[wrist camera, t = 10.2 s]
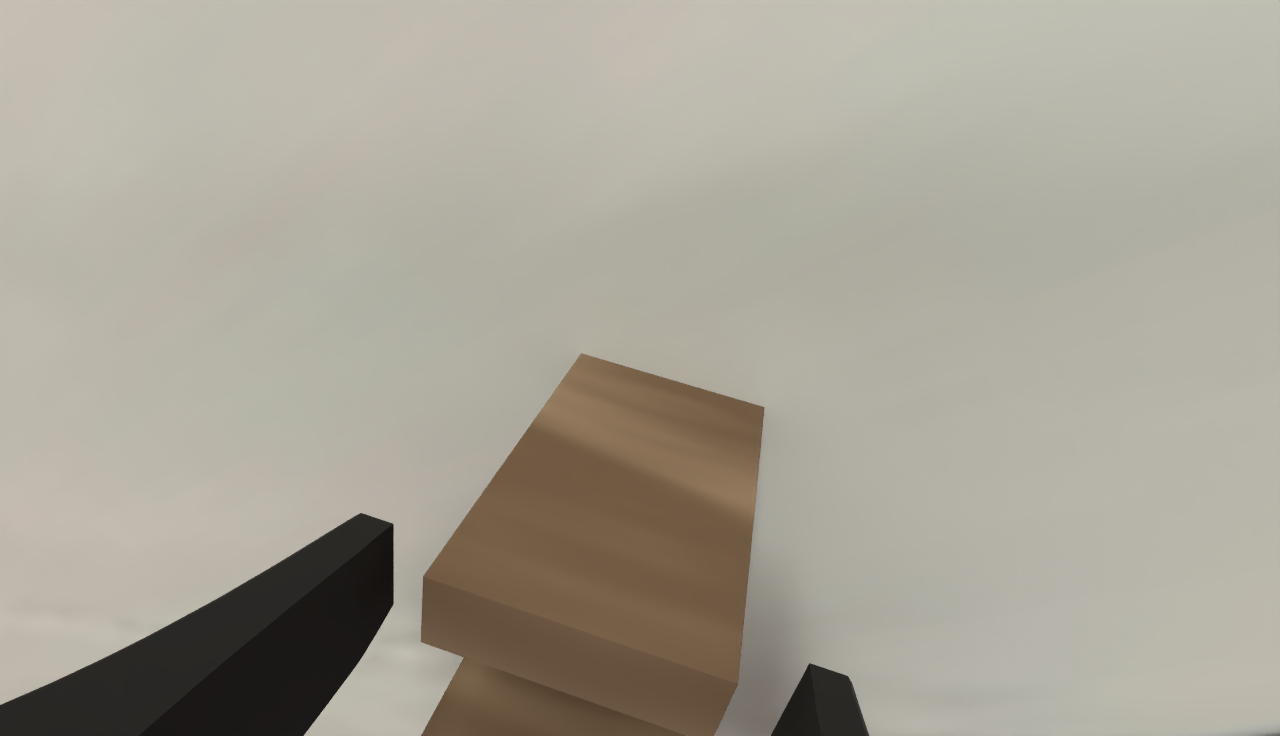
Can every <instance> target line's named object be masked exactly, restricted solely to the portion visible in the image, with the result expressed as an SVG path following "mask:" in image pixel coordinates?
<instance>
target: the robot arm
mask: <svg viewBox="0 0 1280 736" xmlns="http://www.w3.org/2000/svg"><path fill="white" fill-rule="evenodd" d="M392 606H393V524H392V523H389V522H386V521H383V520H380V519H377V518H374V517H371V516H368V515H365V514H362V513H360V514H358V515H356V516H355V517H353V518H351V519H350V520H348V521H346V522H345V523H343V524H341V525H340V526H338V527H336V528H335V529H333V530H331V531H330V532H328V533H327V534H325V535H323V536H322V537H320V538H319V539H317V540H315V541H314V542H312V543H310V544H309V545H307V546H306V547H304V548H302V549H301V550H299V551H297V552H296V553H294V554H292V555H291V556H289V557H287V558H286V559H284V560H282V561H281V562H279V563H278V564H276V565H274V566H273V567H271V568H269V569H267V570H266V571H264V572H262V573H261V574H259V575H257V576H255V577H254V578H252V579H250V580H249V581H247V582H245V583H243V584H242V585H240V586H238V587H237V588H235V589H233V590H231V591H230V592H228V593H226V594H225V595H223V596H221V597H219V598H218V599H216V600H214V601H212V602H210V603H209V604H207V605H205V606H203V607H201V608H199V609H198V610H196V611H194V612H192V613H190V614H188V615H186V616H185V617H183V618H181V619H179V620H177V621H175V622H173V623H171V624H170V625H168V626H166V627H164V628H162V629H160V630H158V631H157V632H155V633H153V634H151V635H149V636H147V637H145V638H143V639H141V640H139V641H137V642H135V643H133V644H131V645H129V646H127V647H125V648H123V649H121V650H119V651H118V652H115V653H113V654H111V655H109V656H107V657H105V658H103V659H101V660H99V661H97V662H95V663H93V664H91V665H89V666H86V667H84V668H82V669H80V670H78V671H76V672H74V673H71V674H69V675H67V676H65V677H63V678H61V679H59V680H56V681H54V682H52V683H50V684H48V685H45V686H43V687H41V688H38V689H36V690H34V691H32V692H29V693H27V694H25V695H22V696H20V697H18V698H15V699H13V700H11V701H9V702H6V703H4V704H2V705H0V736H304V734H305V733H306V732H307V730H308V729H309V728H310V726H311V725H312V724H313V722H314V721H315V720H316V719H317V717H318V716H319V715H320V713H321V712H322V711H323V709H324V708H325V707H326V705H327V704H328V703H329V701H330V700H331V699H332V697H333V696H334V695H335V693H336V692H337V691H338V689H339V688H340V687H341V685H342V684H343V683H344V681H345V680H346V679H347V677H348V676H349V675H350V673H351V672H352V671H353V669H354V668H355V666H356V665H357V664H358V662H359V661H360V659H361V658H362V656H363V655H364V653H365V651H366V650H367V648H368V646H369V645H370V643H371V641H372V640H373V638H374V637H375V635H376V633H377V632H378V630H379V628H380V626H381V625H382V623H383V621H384V620H385V618H386V616H387V614H388V613H389V611H390V609H391V607H392ZM771 736H869V734H868V731H867V728H866V725H865V722H864V719H863V716H862V713H861V710H860V707H859V704H858V701H857V698H856V694H855V691H854V688H853V685H852V682H851V681H850V679H849V677H848V676H846V675H843V674H840V673H837V672H834V671H831V670H828V669H825V668H822V667H819V666H816V665H813V664H810V663H809V665H808V667H807V669H806V671H805V673H804V675H803V677H802V678H801V680H800V682H799V684H798V686H797V688H796V690H795V691H794V693H793V695H792V697H791V699H790V701H789V703H788V705H787V706H786V708H785V710H784V712H783V714H782V716H781V718H780V720H779V721H778V723H777V725H776V727H775V729H774V731H773V733H772V734H771Z"/></svg>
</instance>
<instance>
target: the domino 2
mask: <svg viewBox="0 0 1280 736" xmlns="http://www.w3.org/2000/svg"><path fill="white" fill-rule="evenodd" d="M421 736H686V735H683V734H680V733H677V732H675V731H672V730H669V729H666V728H663V727H660V726H658V725H655V724H652V723H649V722H646V721H643V720H641V719H638V718H635V717H632V716H629V715H626V714H624V713H621V712H618V711H615V710H612V709H609V708H607V707H604V706H601V705H598V704H595V703H592V702H590V701H587V700H584V699H581V698H578V697H575V696H573V695H570V694H567V693H564V692H561V691H559V690H556V689H553V688H550V687H547V686H544V685H542V684H539V683H536V682H533V681H530V680H527V679H525V678H522V677H519V676H516V675H513V674H510V673H508V672H505V671H502V670H499V669H496V668H493V667H491V666H488V665H485V664H482V663H479V662H476V661H474V660H471V659H468V658H465V657H464V659H463V660H462V662H461V664H460V666H459V668H458V669H457V671H456V673H455V675H454V677H453V679H452V680H451V682H450V684H449V686H448V688H447V690H446V691H445V693H444V695H443V697H442V699H441V700H440V702H439V704H438V706H437V708H436V710H435V711H434V713H433V715H432V717H431V719H430V720H429V722H428V724H427V726H426V728H425V730H424V731H423V733H422V735H421Z"/></svg>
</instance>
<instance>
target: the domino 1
mask: <svg viewBox="0 0 1280 736" xmlns="http://www.w3.org/2000/svg"><path fill="white" fill-rule="evenodd" d="M763 416H764V407H761V406H758V405H754V404H751V403H748V402H744V401H741V400H737V399H734V398H731V397H727V396H724V395H720V394H717V393H714V392H710V391H707V390H703V389H700V388H697V387H693V386H690V385H686V384H683V383H680V382H676V381H673V380H669V379H666V378H663V377H659V376H656V375H652V374H649V373H646V372H642V371H639V370H635V369H632V368H629V367H625V366H622V365H618V364H615V363H612V362H608V361H605V360H601V359H598V358H595V357H591V356H588V355H584V354H581V355H580V356H579V358H578V359H577V360H576V362H575V363H574V365H573V366H572V367H571V369H570V370H569V372H568V373H567V374H566V376H565V377H564V379H563V380H562V382H561V383H560V384H559V386H558V387H557V389H556V390H555V391H554V393H553V394H552V396H551V397H550V398H549V400H548V401H547V403H546V404H545V406H544V407H543V408H542V410H541V411H540V413H539V414H538V415H537V417H536V418H535V420H534V421H533V422H532V424H531V425H530V427H529V428H528V430H527V431H526V432H525V434H524V435H523V437H522V438H521V439H520V441H519V442H518V444H517V445H516V446H515V448H514V449H513V451H512V452H511V454H510V455H509V456H508V458H507V459H506V461H505V462H504V463H503V465H502V466H501V468H500V469H499V470H498V472H497V473H496V475H495V476H494V478H493V479H492V480H491V482H490V483H489V485H488V486H487V487H486V489H485V490H484V492H483V493H482V494H481V496H480V497H479V499H478V500H477V501H476V503H475V504H474V506H473V507H472V509H471V510H470V511H469V513H468V514H467V516H466V517H465V518H464V520H463V521H462V523H461V524H460V525H459V527H458V528H457V530H456V531H455V533H454V534H453V535H452V537H451V538H450V540H449V541H448V542H447V544H446V545H445V547H444V548H443V549H442V551H441V552H440V554H439V555H438V557H437V558H436V559H435V561H434V562H433V564H432V565H431V566H430V568H429V569H428V571H427V572H426V573H425V575H424V576H423V598H422V625H421V642H423V643H425V644H428V645H431V646H434V647H437V648H440V649H442V650H445V651H448V652H451V653H454V654H457V655H459V656H462V657H465V658H468V659H471V660H474V661H476V662H479V663H482V664H485V665H488V666H491V667H493V668H496V669H499V670H502V671H505V672H508V673H510V674H513V675H516V676H519V677H522V678H525V679H527V680H530V681H533V682H536V683H539V684H542V685H544V686H547V687H550V688H553V689H556V690H559V691H561V692H564V693H567V694H570V695H573V696H575V697H578V698H581V699H584V700H587V701H590V702H592V703H595V704H598V705H601V706H604V707H607V708H609V709H612V710H615V711H618V712H621V713H624V714H626V715H629V716H632V717H635V718H638V719H641V720H643V721H646V722H649V723H652V724H655V725H658V726H660V727H663V728H666V729H669V730H672V731H675V732H677V733H680V734H683V735H686V736H714V734H715V732H716V730H717V728H718V726H719V724H720V721H721V719H722V717H723V715H724V713H725V711H726V708H727V706H728V704H729V702H730V700H731V698H732V696H733V693H734V691H735V689H736V687H737V685H738V677H739V666H740V656H741V646H742V635H743V625H744V614H745V604H746V593H747V583H748V573H749V562H750V552H751V541H752V531H753V520H754V510H755V500H756V489H757V479H758V468H759V458H760V447H761V437H762V427H763Z"/></svg>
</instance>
